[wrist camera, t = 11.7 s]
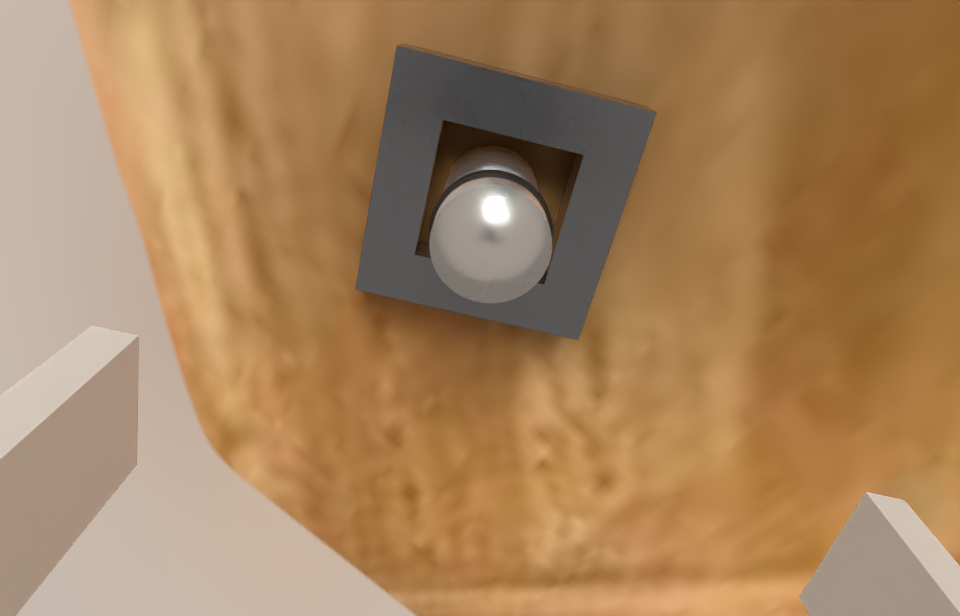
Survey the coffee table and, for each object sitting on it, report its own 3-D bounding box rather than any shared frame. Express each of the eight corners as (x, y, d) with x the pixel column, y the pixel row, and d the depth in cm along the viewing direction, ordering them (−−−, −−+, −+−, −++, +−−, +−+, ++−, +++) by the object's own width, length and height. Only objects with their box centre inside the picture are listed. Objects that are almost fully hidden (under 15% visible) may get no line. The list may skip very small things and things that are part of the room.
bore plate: (403, 43, 27) (397, 45, 26) (645, 106, 28) (656, 112, 26) (363, 274, 32) (355, 289, 30) (573, 322, 33) (578, 340, 31)
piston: (453, 131, 29) (440, 167, 22) (553, 156, 29) (572, 200, 22) (432, 227, 31) (413, 290, 23) (525, 250, 31) (536, 319, 24)
